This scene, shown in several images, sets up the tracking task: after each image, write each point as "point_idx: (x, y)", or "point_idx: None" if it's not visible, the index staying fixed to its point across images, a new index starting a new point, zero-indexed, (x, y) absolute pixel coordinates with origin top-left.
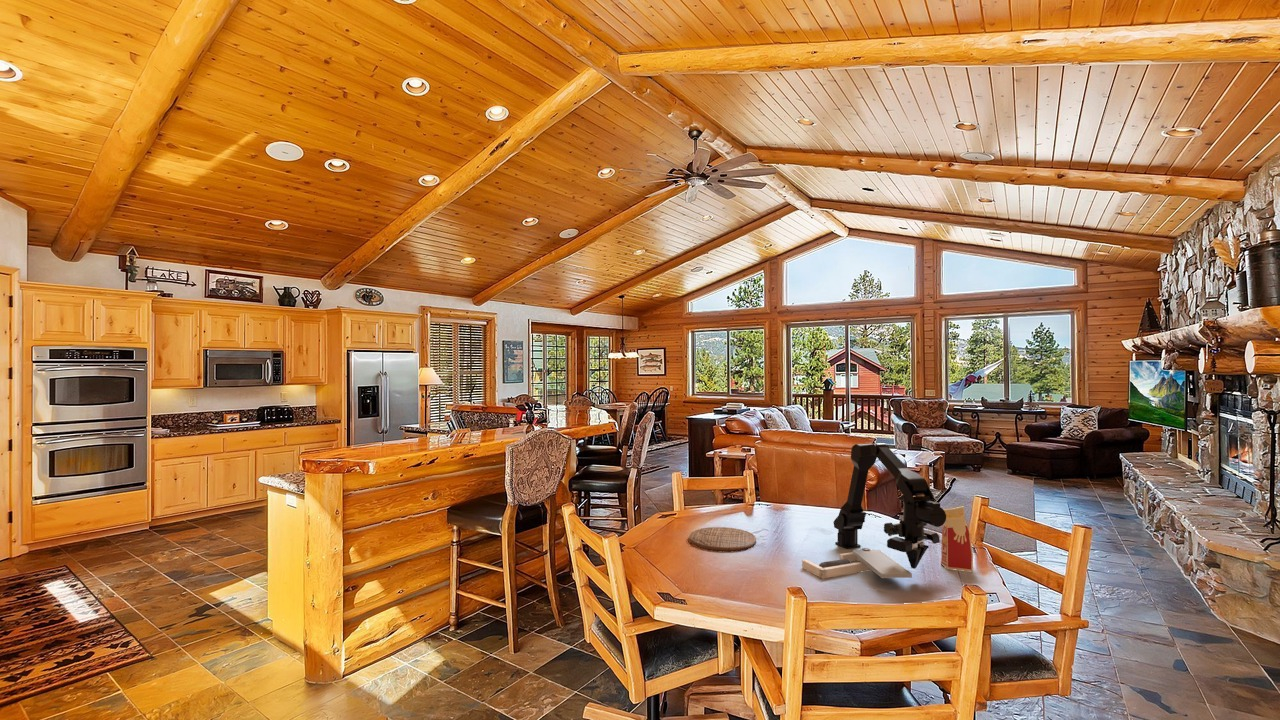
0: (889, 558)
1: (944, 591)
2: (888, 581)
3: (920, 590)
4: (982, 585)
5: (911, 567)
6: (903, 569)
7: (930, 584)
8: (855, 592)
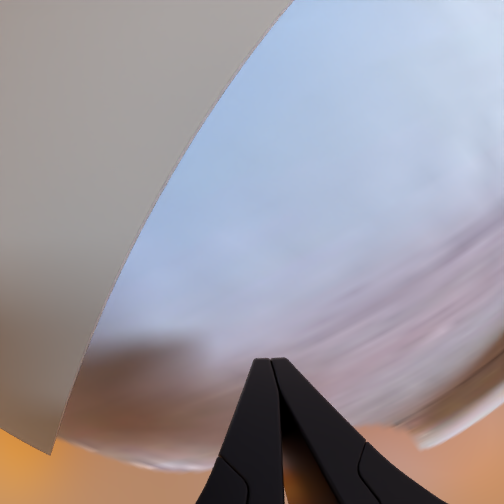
0: (211, 40)
1: None
2: None
3: (120, 399)
4: (420, 443)
5: (253, 362)
6: (36, 403)
7: None
8: None
